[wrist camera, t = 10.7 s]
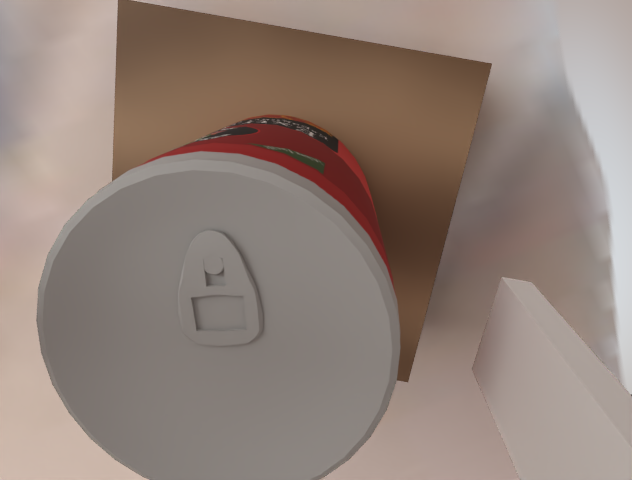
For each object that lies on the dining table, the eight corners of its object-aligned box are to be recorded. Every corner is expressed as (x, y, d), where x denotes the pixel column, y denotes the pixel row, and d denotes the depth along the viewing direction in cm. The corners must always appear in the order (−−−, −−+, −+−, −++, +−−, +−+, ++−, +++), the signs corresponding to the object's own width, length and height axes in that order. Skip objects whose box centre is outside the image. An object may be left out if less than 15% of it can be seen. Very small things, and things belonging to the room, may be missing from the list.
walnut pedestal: (170, 16, 24) (118, -2, 18) (456, 66, 24) (491, 63, 18) (153, 279, 28) (107, 330, 23) (394, 320, 29) (407, 382, 23)
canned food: (338, 85, 19) (335, 98, 8) (395, 271, 21) (447, 463, 11) (157, 147, 20) (-45, 228, 10) (229, 318, 22) (130, 533, 12)
